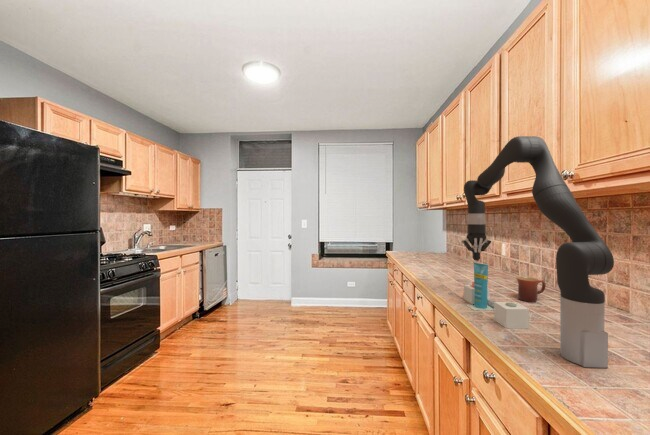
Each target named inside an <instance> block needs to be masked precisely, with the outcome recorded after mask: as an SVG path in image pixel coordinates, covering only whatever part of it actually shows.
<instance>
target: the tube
mask: <svg viewBox="0 0 650 435" xmlns="http://www.w3.org/2000/svg"><path fill="white" fill-rule="evenodd" d="M488 275H489V264H487V263H486V264H485V263H478V262H473V276H474V277H473V278H474V280H473V282H474V306H475V307H477V308H481V309H486V308H487V288H488V282H489V281H488V279H489V278H488V277H489V276H488Z"/></svg>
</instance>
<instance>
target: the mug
mask: <svg viewBox="0 0 650 435" xmlns="http://www.w3.org/2000/svg"><path fill="white" fill-rule="evenodd" d="M516 281H517V285H518V286H517V287H518V288H517V295H518V299H519V300H520V301H522V302H526V303H535V302H537V301H538V297H539V296H538V295H540V294H542V293H543V292H544V291H545V290H546V282H545V281H544V280H540V279H539V278H536V277H529V276H517V277H516ZM540 283H541V289H540V290H538V285H539V284H540Z"/></svg>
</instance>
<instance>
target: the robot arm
mask: <svg viewBox="0 0 650 435" xmlns="http://www.w3.org/2000/svg"><path fill="white" fill-rule="evenodd" d="M513 163H518V164H519V163H524V164H525V163H527V164H528V163H529V164H530V166H531V167H532V168H533V170H534V173H535V179H534V182H533V185H532V188H531V189H532V190H531V192H532V193H531V194H532V197H533V200H534V202H535V204H536V205H537V208H538V210H540V211H539V212H541V213H542V215H544V217H546V218H547V219H548V220H549V221H551V223H554V224H555V225H556V226H558V227H559V228H560V229H561V230H562V231H564V233H565V234H567V236H568V238H570V240H571V242H569V241H568V242H565V243H562V244H561V245H559V247H558V249H557V251H556V255H555V265H556V282H557V286H558V288H559V290H560V291H559V292H560V300H559V301H560V305H559V306H560V314H559V316H560V317H559V318H560V319H559V320H560V323H559V327H560V328H559V329H560V330H559V332H560V333H559V336H560V337H559V338H560V339H559V340H560V342H559V343H560V346H559V347H560V350H559V351H560V356H561V357H562V358H563V359H565V360H567V361H569V362H571V363H573V364H577V365H579V366H582V367H583V368H597V369H598V368H602V369H603V368H608V367H609V333H608V332H607V331H606V330H605V313H606V312H605V311H606V310H605V306H606V304H605V303H606V301H605V300H606V296H605V292H604V291H603V290H602V289H599V288H596V287H594V286H592V285H591V284H590V280H589V276H596V275H597V276H598V275H600V276H601V275H606V274H609V273H610V272H611V271H612V270H613V268H614V266H615V261H614V255H613V254H612V251H611V250H610V248H609V247H608V245H607V244H606V242H605V241H604V240H603V239H602V237H601V236H600V234H598V231H596V229H595V228H594V227H593V225H592V224H591V222H590V221H589V220H588V218H587V217H586V215H585V213H584V212H583V210H582V209H581V207H580V206H579V204H578V203H577V201H576V198H575V197H574V195H573V193H572V192H571V190H570V188H569V186H568V185H567V183H566V182H565V181H564V179H563V177H562V175H561V173H560V171H559V169H558V168H557V166H556V164H555V161H554V158H553V156H552V154H551V151H550V149H549V147H548V145H547V143H546V141H545V140H544V139H543V138H542V137H540V136H536V135H535V136H533V135H532V136H531V135H530V136H529V135H527V136H525V135H523V136H522V135H520V136H519V135H518V136H515V137H513V138H511V139H509V141H507V142H506V144H505V145H504V146H503V148H502V149H501V150H500V152H499V153H498V155H497V156H496V157H495V159H494V160H493V161H492V163H491V164H490V165H489V166H488V167H487V168H486V169H484V171H483V170H482V172H481V173H480V174H479V175H478V176H477V180H471V179H470V180H468V181H466V182H465V183H464V185H463V193H464V196H465V200H466V202H467V218H466V220H467V222H466V224H467V225H466V227H467V228H466V230H467V234H466V238H464V239H462V240H461V243H462V244H463V245H464V247H465V248H466V250H468V251H469V252H471V253H472V259H473V261H477V262H478V261H480V260H481V253H482V252H485V251H486V249H487V248H488V247H489V246H490V244H491V243H492V241H491V240H489V239H488V238H487V235H486V232H487V229H486V228H487V227H486V223H487V222H486V221H487V220H486V219H487V218H486V203H485V201H483V200H479V199H477V197H476V196H486V195H487V194H488V193H490V191H491V189H492V187H493V186H494V185H495V184H496V183H498V182H499V181H500V180H502V179H503V177H504V175H505V173H506V167H508V166H510V165H511V164H513Z"/></svg>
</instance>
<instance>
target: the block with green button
mask: <svg viewBox="0 0 650 435" xmlns="http://www.w3.org/2000/svg"><path fill="white" fill-rule="evenodd" d="M493 309H494V310H493V320H494V322H497V323H498V324H499V325H501V326H502V327H504V328H505V329H514V330H515V329H518V330H519V329H521V330H523V329H524V330H528V329H530V309H529V308H528V307H525V306H524V305H522V304H519V303H518V302H515V301H514V302H513V301H509V302H508V301H496V302H494V308H493Z"/></svg>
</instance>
